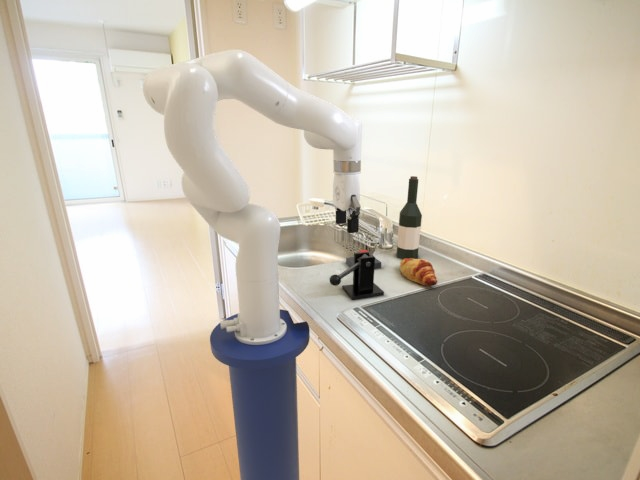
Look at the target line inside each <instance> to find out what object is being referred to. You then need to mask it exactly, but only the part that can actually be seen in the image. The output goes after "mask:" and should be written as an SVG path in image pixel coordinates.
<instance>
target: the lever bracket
mask: <svg viewBox="0 0 640 480" xmlns="http://www.w3.org/2000/svg"><path fill="white" fill-rule="evenodd" d="M369 253H370V251H369V252H359V251H358V252H354V253H353V257H354V264H356V263H357V262H358V260H357V259H358V258H359V257H360V258H359V267H358V268H357V269H355V270H354V271H352V284H351V283H350V284H345V285H341V287H342V288H341V289H342V291H343V292H344V293H345V294H346V295H347V297H348V298H349V299H350V300H351V301H357V300H365V299H370V298H377V297H384V296H385V291H384V290H382V289H381V288H380V286H378V285H377V284H376V283H374V282H375V269H374V266H375V258H376V256H375V255H373V256H369ZM364 254H366V255H367V256H368V257H361V256H362V255H364Z"/></svg>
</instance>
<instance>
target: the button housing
mask: <svg viewBox="0 0 640 480" xmlns="http://www.w3.org/2000/svg"><path fill="white" fill-rule="evenodd" d="M369 256H374V254H373V253H371V252H369ZM345 263H346V265H347V266H348V268H350V267H351V266H353V265H354V256H353V257H352V256H350V257H345ZM378 269H382V261H381V260H379V259H377V257H375V266H374V270H378Z"/></svg>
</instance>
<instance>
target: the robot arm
mask: <svg viewBox="0 0 640 480" xmlns="http://www.w3.org/2000/svg"><path fill="white" fill-rule="evenodd" d="M142 93H143V96H144V99H145V101H146V103H147V104H148V105H149V106H150V108H151V109H152V110H154V111H155V112H156V113H158V114H160V115H161V116H163V133H164V138H165V143H166V146H167V149H168V151H169V152H170V154H171V156H172V158H173V160H174V161H175V162H176V163H177V164H178V166H179V167H180V169H181V170H182V171H183V174H182V176H181V189H182V192H183V194H184V196H185V198H186V200H187V201H188V202H189V204H190V205H191V207H193V208H194V209H195V211H196V212H197V213H198V214H199V215H200V217H202V218H203V220H204V221H205V222H206V223H207V224H208V225H209V227H210V228H211V229H212V230H214V232H216V234H217V235H219V236H220V237H222V238H223V239H226V240H228V241H231V242H234V243H235V244H238V251H237V255H236V258H235V277H236V287H237V288H236V289H237V299H238V313H237V314H238V317H237V318H234V320H225V319H224V320H225V321H223V320H220V322H219V323H220V324H221V329H225V328H226V329H227V332H232V331H234V332H235V337H236V338H237V340H239V341H240V342H242V343H245V344H249V345H264V344H269V343H272V342H275V341H277V340H279V339H280V338H282V337H283V336H284V335H285V333H286V331H287V325H286V323H285V321H284V320H282V319H281V318H280V309H281V307H280V306H281V305H280V286H279V260H278V257H279V254H278V253H279V245H280V238H281V233H282V232H281V231H282V230H281V228H282V227H281V222H280V220H279V218H278V217H277V215H276V214H275V213H274V212H273V211H272V210H270V209H268V208H266V207H265V206H261V205H258V204H254V203H249V201H250V198H251V191H250V187H249V184H248V183H247V181H246V179H245V177H244V176H243V174H242V173H241V171H240V170H239V169H238V168H237V166H236V164H235V163H234V162H233V160H232V159H231V158H230V156H229V155H228V153H227V152H226V151H225V149H224V147H223V146H222V144H221V143H220V141H219V139H218V137H217V135H216V131H215V124H214V123H215V115H216V109H217V105H218V102H220V101H222V100H235V101H236V100H237V101H239V102H240V103H242V104H243V105H245V106H247V107H248V108H250V109H252V110H253V111H255V112H257V113H258V114H261V115H262V116H264V117H266V118H267V119H269V120H270V121H271V122H274V124H278V125H281V126H284V127H287V128H289V129H290V128H291V129H294V130H295V129H296V130H301V131H303V137H304V140H305V142H306V143H307V144H308V145H309V146H311V147H312V148H314V149H318V150H327V151H328V150H331V151H332V155H333V156H332V157H333V158H332V164H333V165H332V167H333V168H332V169H333V171H332V172H333V174H334V175H333V182H332V183H333V184H332V204H333V206H334V208H335V224H336V225H342V224H346V232H347V233H348V234H356V233H359V231H360V230H359V226H360V215H361V213H360V212H361V185H360V174H361V173H362V139H363V138H362V137H363V136H362V135H363V134H362V132H363V128H362V127H363V126H362V122H361V120H360V119H359V118H352V117H351V116H350V115H349V114H347V113H346V112H345V111H343V109H341V108H340V107H338V106H336V105H335V104H333V103H331V102H330V101H327V100H325V99H324V98H321V97H318V96H317V95H314V94H312V93H310V92H307V91H305V90H303V89H301V88H298V87H296V86H295V85H293V84H291V83H290V82H289V81H288V80H286V79H284V78H283V77H282V76H281V75H279V74H278V73H276V72H275V71H274V70H273V69H272V68H270V67H269V66H268V65H266V64H265V63H263V62H262V61H261V60H260V59H258V58H257V57H255V56H254V55H252V54H251V53H249V52H247V51H245V50H243V49H238V48H237V49H236V48H235V49H227V50H223V51H218V52H213V53H209V54H206V55H202V56H199V57H196V58H193V59H190V60H185V61H181V62H177V63H172V64H168V65H164V66H160V67H159V66H158V67H156V68H153V69H152V70H150V71H149V72H148V73H147V74H146V75H145V78H144V79H143V83H142ZM347 217H348V218H347Z"/></svg>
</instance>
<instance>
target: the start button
mask: <svg viewBox="0 0 640 480" xmlns="http://www.w3.org/2000/svg"><path fill="white" fill-rule="evenodd" d="M358 252H369V253H370V251H369V250H367V249H360V250H359V251H358Z"/></svg>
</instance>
